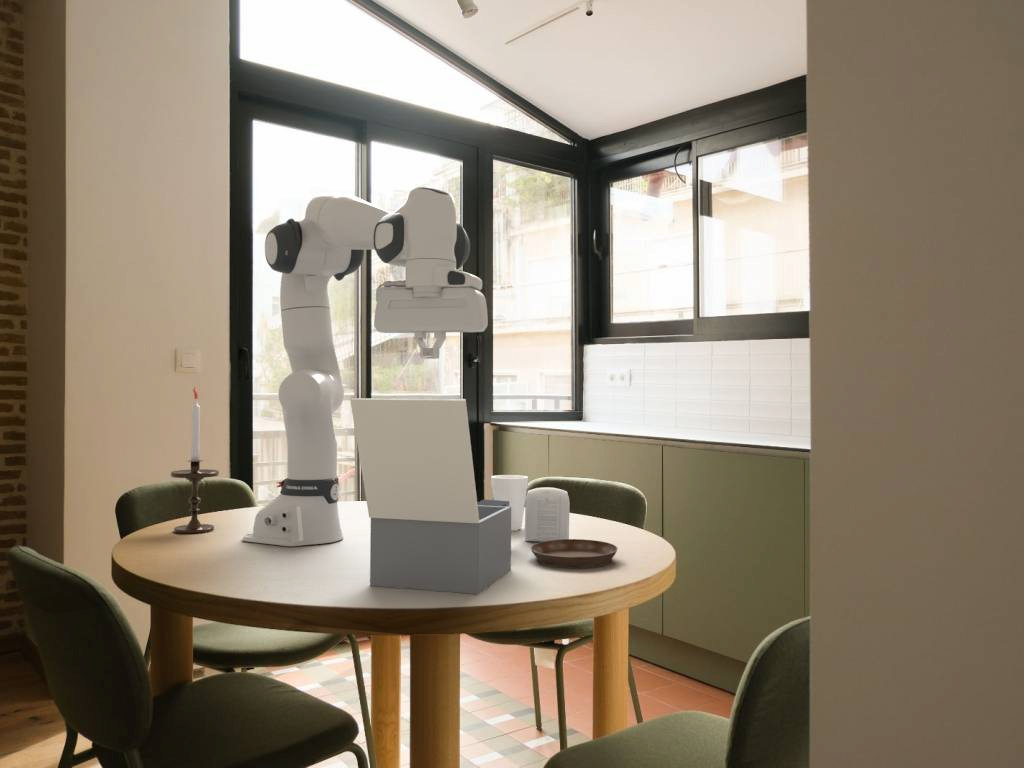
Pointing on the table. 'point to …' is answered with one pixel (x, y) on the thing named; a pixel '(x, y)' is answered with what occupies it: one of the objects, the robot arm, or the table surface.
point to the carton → (441, 552)
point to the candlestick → (194, 476)
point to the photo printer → (546, 514)
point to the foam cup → (511, 495)
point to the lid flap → (416, 459)
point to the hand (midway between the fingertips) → (429, 358)
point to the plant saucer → (574, 553)
